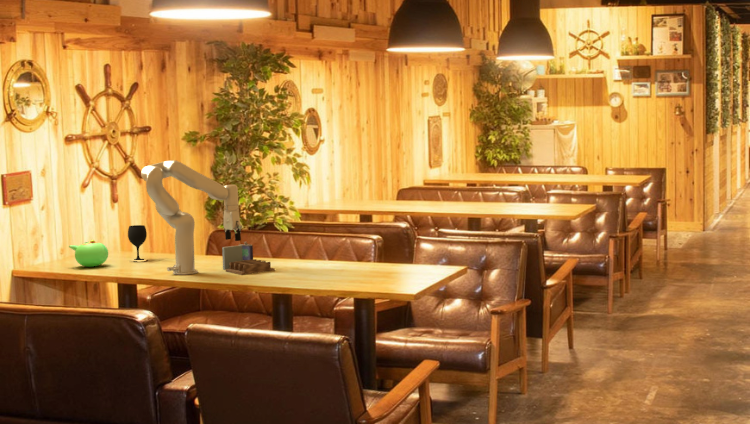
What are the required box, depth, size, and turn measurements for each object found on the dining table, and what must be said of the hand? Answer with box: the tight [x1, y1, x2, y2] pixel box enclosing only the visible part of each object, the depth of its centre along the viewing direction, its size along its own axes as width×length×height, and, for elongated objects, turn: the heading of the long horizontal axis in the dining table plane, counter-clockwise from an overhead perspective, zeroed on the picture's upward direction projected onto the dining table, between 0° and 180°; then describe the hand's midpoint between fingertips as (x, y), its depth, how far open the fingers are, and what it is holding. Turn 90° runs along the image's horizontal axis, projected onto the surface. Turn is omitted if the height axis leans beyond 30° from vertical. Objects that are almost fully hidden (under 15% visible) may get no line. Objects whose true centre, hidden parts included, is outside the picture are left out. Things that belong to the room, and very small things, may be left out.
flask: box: [240, 241, 254, 261], centre depth 538 cm, size 9×3×11 cm, turn 65°
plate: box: [221, 244, 243, 271], centre depth 507 cm, size 11×2×12 cm, turn 130°
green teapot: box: [68, 239, 109, 268], centre depth 522 cm, size 18×17×15 cm
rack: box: [225, 258, 276, 276], centre depth 498 cm, size 20×16×5 cm
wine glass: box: [127, 224, 148, 260], centre depth 542 cm, size 10×10×20 cm
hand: (233, 240), depth 506 cm, fingers open, 9 cm apart
